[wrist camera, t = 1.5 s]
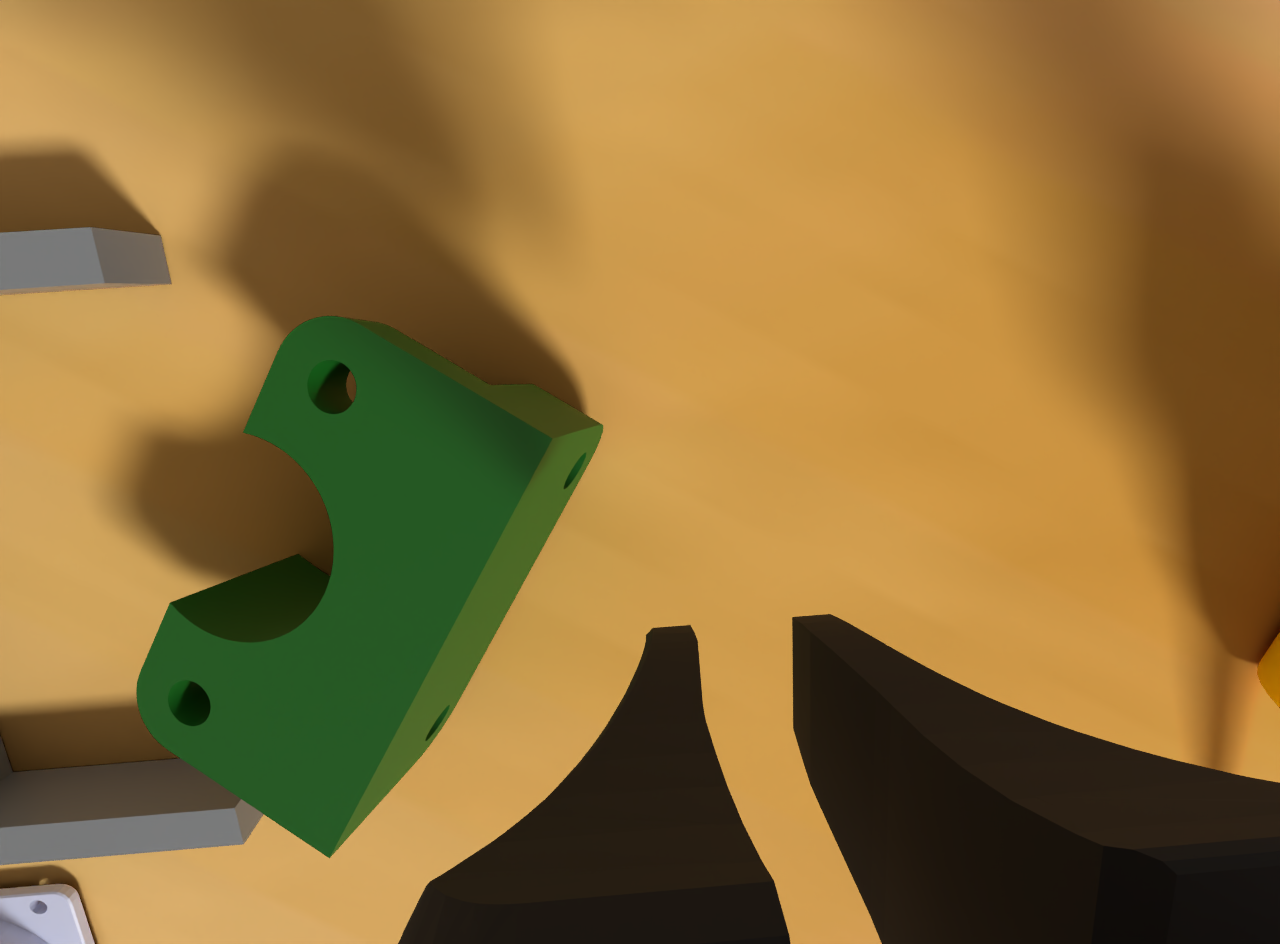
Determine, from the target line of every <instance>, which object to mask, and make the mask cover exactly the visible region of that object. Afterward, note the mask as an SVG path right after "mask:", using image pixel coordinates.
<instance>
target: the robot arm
mask: <svg viewBox="0 0 1280 944" xmlns="http://www.w3.org/2000/svg"><path fill="white" fill-rule="evenodd" d="M792 626H793V729H794V732H795V736H796V739H797V742H798V746H799V749H800V753H801V756H802V759H803V762H804V766H805V769H806V772H807V775H808V778H809V781H810V784H811V787H812V789H813V791H814V793H815V796H816V798H817V800H818V802H819V805H820V807H821V809H822V811H823V813H824V816H825V818H826V820H827V822H828V824H829V827H830V829H831V831H832V833H833V835H834V838H835V840H836V842H837V844H838V846H839V848H840V851H841V853H842V855H843V857H844V859H845V861H846V864H847V866H848V868H849V870H850V872H851V874H852V877H853V879H854V881H855V883H856V885H857V887H858V890H859V892H860V894H861V896H862V898H863V900H864V903H865V905H866V907H867V909H868V911H869V914H870V916H871V918H872V921H873V923H874V925H875V928H876V930H877V933H878V935H879V938H880V940H881V942H882V944H1280V783H1278V782H1272V781H1266V780H1261V779H1255V778H1250V777H1245V776H1240V775H1236V774H1231V773H1227V772H1223V771H1218V770H1214V769H1210V768H1206V767H1201V766H1197V765H1193V764H1189V763H1184V762H1180V761H1176V760H1172V759H1168V758H1164V757H1161V756H1157V755H1153V754H1150V753H1146V752H1142V751H1138V750H1135V749H1131V748H1128V747H1125V746H1121V745H1118V744H1115V743H1112V742H1109V741H1105V740H1102V739H1099V738H1096V737H1093V736H1089V735H1086V734H1083V733H1080V732H1077V731H1074V730H1071V729H1068V728H1065V727H1062V726H1059V725H1056V724H1054V723H1051V722H1048V721H1045V720H1043V719H1040V718H1038V717H1035V716H1033V715H1030V714H1028V713H1025V712H1023V711H1020V710H1018V709H1015V708H1013V707H1010V706H1007V705H1005V704H1002V703H1000V702H998V701H996V700H993V699H991V698H989V697H986V696H984V695H982V694H980V693H978V692H975V691H973V690H971V689H969V688H967V687H965V686H963V685H961V684H959V683H957V682H955V681H953V680H951V679H949V678H947V677H945V676H943V675H941V674H939V673H937V672H935V671H933V670H931V669H929V668H927V667H925V666H923V665H922V664H920V663H918V662H916V661H914V660H912V659H911V658H909V657H907V656H905V655H903V654H902V653H900V652H898V651H896V650H894V649H893V648H891V647H889V646H887V645H886V644H884V643H882V642H881V641H879V640H877V639H875V638H874V637H872V636H870V635H868V634H867V633H865V632H863V631H861V630H860V629H858V628H856V627H854V626H853V625H851V624H849V623H847V622H845V621H843V620H841V619H839V618H837V617H835V616H833V615H831V614H827V615H814V616H801V617H792ZM0 944H95V943H94V940H93V937H92V934H91V931H90V928H89V925H88V922H87V918H86V915H85V912H84V909H83V906H82V903H81V900H80V897H79V894H78V892H77V891H76V889H74V888H73V887H72V886H70V885H67V884H50V885H39V886H27V887H16V888H4V889H0ZM398 944H790V938H789V933H788V930H787V926H786V922H785V919H784V915H783V912H782V908H781V905H780V901H779V898H778V894H777V890H776V887H775V883H774V880H773V879H772V877H771V875H770V874H769V872H768V870H767V869H766V867H765V866H764V864H763V862H762V860H761V859H760V857H759V855H758V853H757V851H756V849H755V847H754V845H753V843H752V841H751V839H750V837H749V835H748V833H747V831H746V829H745V827H744V825H743V823H742V820H741V818H740V816H739V813H738V811H737V808H736V806H735V803H734V801H733V799H732V796H731V794H730V791H729V789H728V787H727V784H726V781H725V778H724V775H723V772H722V770H721V767H720V764H719V761H718V758H717V755H716V752H715V749H714V746H713V743H712V740H711V736H710V733H709V730H708V727H707V723H706V720H705V715H704V709H703V702H702V690H701V677H700V665H699V652H698V640H697V638H696V636H695V633H694V631H693V629H692V627H691V625H686V626H673V627H660V628H652V629H651V631H650V632H649V633H648V634H647V635H646V643H645V648H644V651H643V654H642V657H641V660H640V662H639V665H638V668H637V670H636V672H635V674H634V676H633V679H632V681H631V683H630V685H629V687H628V689H627V691H626V693H625V695H624V697H623V699H622V700H621V702H620V704H619V706H618V707H617V709H616V711H615V712H614V714H613V716H612V717H611V719H610V721H609V722H608V724H607V726H606V727H605V729H604V730H603V732H602V733H601V734H600V736H599V737H598V739H597V740H596V742H595V743H594V744H593V746H592V747H591V748H590V749H589V751H588V752H587V753H586V755H585V756H584V757H583V758H582V760H581V761H580V762H579V763H578V765H577V766H576V767H575V768H574V769H573V770H572V771H571V772H570V773H569V775H568V776H567V777H566V778H565V779H564V780H563V781H562V782H561V783H560V784H559V786H558V787H557V788H556V789H555V790H554V791H553V792H552V793H551V794H550V795H549V796H548V797H547V798H546V799H545V800H544V801H543V802H541V803H540V804H539V805H538V806H537V807H536V808H534V809H533V810H532V811H531V812H530V813H529V814H528V815H526V816H525V817H524V818H523V819H521V820H520V821H519V822H518V823H516V824H515V825H514V826H512V827H511V828H510V829H509V830H507V831H506V832H505V833H504V834H502V835H501V836H499V837H498V838H497V839H495V840H494V841H493V842H491V843H490V844H488V845H487V846H485V847H484V848H482V849H481V850H479V851H478V852H476V853H475V854H473V855H472V856H470V857H468V858H467V859H465V860H464V861H462V862H461V863H459V864H458V865H456V866H455V867H453V868H452V869H450V870H449V871H447V872H445V873H444V874H442V875H441V876H439V877H437V878H435V879H434V880H432V881H430V882H429V883H428V885H427V886H426V888H425V890H424V892H423V893H422V895H421V897H420V899H419V901H418V903H417V905H416V907H415V909H414V911H413V914H412V916H411V918H410V920H409V922H408V924H407V926H406V928H405V930H404V932H403V935H402V937H401V939H400V941H399V943H398Z"/></svg>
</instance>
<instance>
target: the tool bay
mask: <svg viewBox="0 0 1280 944" xmlns="http://www.w3.org/2000/svg"><path fill="white" fill-rule="evenodd" d="M166 284H171V280H170V275H169V271H168V266H167V262H166V257H165V253H164V249H163V244H162V240H161V236H160V235H152V234H144V233H135V232H127V231H119V230H111V229H102V228H94V227H85V228H68V229H52V230H36V231H20V232H4V233H0V295H9V294H25V293H40V292H56V291H72V290H87V289H103V288H119V287H134V286H150V285H166ZM262 816H263V813H261V812H260V811H258V810H257V809H255V808H254V807H252V806H251V805H249V804H248V803H246V802H245V801H243V800H242V799H240V798H239V797H237V796H236V795H234V794H233V793H231V792H230V791H228V790H227V789H225V788H224V787H223V786H221V785H220V784H218V783H217V782H215V781H214V780H212V779H211V778H209V777H208V776H206V775H205V774H203V773H202V772H200V771H199V770H197V769H196V768H194V767H193V766H191V765H190V764H188V763H187V762H185V761H184V760H182V759H181V758H179V759H167V760H155V761H143V762H130V763H118V764H106V765H94V766H82V767H69V768H57V769H45V770H33V771H20V772H13V771H12V768H11V765H10V762H9V760H8V757H7V754H6V751H5V748H4V745H3V742H2V739H1V736H0V865H7V864H18V863H30V862H42V861H54V860H65V859H77V858H89V857H100V856H112V855H124V854H136V853H147V852H159V851H171V850H182V849H194V848H206V847H218V846H229V845H241V844H244V843H245V842H246V840H247V839H248V837H249V836H250V834H251V832H252V831H253V829H254V828H255V826H256V825H257V823H258V822H259V820H260V819H261V817H262Z"/></svg>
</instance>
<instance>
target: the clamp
mask: <svg viewBox="0 0 1280 944" xmlns="http://www.w3.org/2000/svg"><path fill="white" fill-rule="evenodd" d="M350 371H351V372H352V374H353V376H354V378H355V381H356V397H355V399H354V402H352V401H351V400H350V398H349V396H348V393H347V389H346V380H347V376H348V374H349V372H350ZM602 432H603V425H602V424H600V423H599V422H597V421H595V420H594V419H592V418H590V417H588V416H587V415H585V414H583V413H582V412H580V411H578V410H576V409H575V408H573V407H571V406H570V405H568V404H566V403H565V402H563V401H561V400H559V399H558V398H556V397H554V396H553V395H551V394H549V393H547V392H546V391H544V390H542V389H541V388H539V387H537V386H536V385H534V384H511V385H489V384H487V383H486V382H484V381H482V380H481V379H479V378H477V377H476V376H474V375H472V374H471V373H469V372H467V371H465V370H464V369H462V368H460V367H459V366H457V365H455V364H454V363H452V362H450V361H448V360H447V359H445V358H443V357H442V356H440V355H438V354H437V353H435V352H433V351H432V350H430V349H428V348H426V347H425V346H423V345H421V344H420V343H418V342H416V341H415V340H413V339H411V338H409V337H408V336H406V335H404V334H403V333H401V332H399V331H398V330H396V329H394V328H392V327H390V326H388V325H385V324H382V323H378V322H372V321H365V320H358V319H351V318H344V317H337V316H322V317H317V318H314V319H311V320H308V321H306V322H304V323H302V324H301V325H299V326H297V327H296V328H295V329H294V330H293V331H292V332H291V333H290V334H289V335H288V336H287V337H286V338H285V340H284V341H283V343H282V344H281V346H280V348H279V350H278V352H277V354H276V357H275V359H274V361H273V364H272V366H271V368H270V371H269V373H268V375H267V378H266V380H265V382H264V385H263V387H262V389H261V392H260V394H259V396H258V399H257V401H256V403H255V406H254V408H253V410H252V413H251V415H250V417H249V420H248V422H247V424H246V427H245V429H244V431H243V433H246V434H250V435H254V436H256V437H259V438H262V439H264V440H266V441H268V442H270V443H272V444H274V445H275V446H277V447H278V448H280V449H281V450H283V451H284V452H286V453H287V454H288V455H289V456H290V457H292V458H293V459H294V460H295V461H296V462H297V463H298V464H299V465H300V466H301V467H302V468H303V470H304V471H305V472H306V473H307V474H308V476H309V477H310V479H311V480H312V482H313V483H314V484H315V486H316V488H317V490H318V491H319V493H320V495H321V497H322V500H323V502H324V504H325V506H326V509H327V512H328V515H329V519H330V523H331V528H332V534H333V544H334V556H333V566H332V572H331V576H329V575H327V574H325V573H324V572H322V571H320V570H319V569H318V568H316V567H315V566H313V565H312V564H311V563H310V562H308V561H307V560H305V559H304V558H303V557H302V556H300V555H299V554H296V555H294V556H291V557H289V558H286V559H283V560H281V561H278V562H275V563H273V564H270V565H268V566H265V567H262V568H260V569H257V570H255V571H252V572H249V573H247V574H244V575H241V576H239V577H236V578H234V579H231V580H228V581H226V582H223V583H220V584H218V585H215V586H213V587H210V588H207V589H205V590H202V591H199V592H197V593H194V594H192V595H189V596H186V597H184V598H181V599H178V600H176V601H173V602H171V603H170V604H169V606H168V609H167V611H166V613H165V616H164V618H163V620H162V623H161V625H160V627H159V630H158V632H157V634H156V637H155V639H154V641H153V644H152V646H151V648H150V651H149V653H148V655H147V658H146V660H145V662H144V665H143V667H142V669H141V672H140V675H139V678H138V682H137V703H138V708H139V711H140V714H141V717H142V719H143V722H144V724H145V725H146V727H147V729H148V730H149V732H150V733H151V734H152V736H153V737H154V738H155V739H156V740H157V741H158V742H159V743H160V744H161V745H162V746H163V747H165V748H166V749H167V750H169V751H170V752H172V753H173V754H175V755H176V756H178V757H179V758H181V759H182V760H184V761H185V762H187V763H188V764H190V765H191V766H193V767H194V768H196V769H197V770H199V771H200V772H202V773H203V774H205V775H206V776H208V777H209V778H211V779H212V780H214V781H215V782H217V783H218V784H220V785H221V786H223V787H224V788H225V789H227V790H228V791H230V792H231V793H233V794H234V795H236V796H237V797H239V798H240V799H242V800H243V801H245V802H246V803H248V804H249V805H251V806H252V807H254V808H255V809H257V810H258V811H260V812H261V813H263V814H264V815H266V816H267V817H269V818H270V819H272V820H273V821H275V822H276V823H278V824H279V825H281V826H282V827H284V828H285V829H287V830H288V831H290V832H291V833H293V834H294V835H296V836H297V837H299V838H300V839H302V840H303V841H305V842H306V843H308V844H309V845H311V846H312V847H314V848H315V849H317V850H318V851H320V852H321V853H323V854H324V855H326V856H327V857H329V858H330V857H331V856H332V855H333V854H334V853H335V851H336V850H337V849H338V848H339V847H340V846H341V845H342V844H343V843H344V841H345V840H346V839H347V838H348V837H349V836H350V835H351V834H352V833H353V831H354V830H355V829H356V828H357V827H358V826H359V825H360V824H361V823H362V821H363V820H364V819H365V818H366V817H367V816H368V815H369V814H370V813H371V811H372V810H373V809H374V808H375V807H376V806H377V805H378V804H379V803H380V801H381V800H382V799H383V798H384V797H385V796H386V795H387V794H388V793H389V791H390V790H391V789H392V788H393V787H394V786H395V785H396V784H397V783H398V781H399V780H400V779H401V778H402V777H403V776H404V775H405V774H406V773H407V771H408V770H409V769H410V768H411V767H412V766H413V765H414V764H415V763H416V761H417V760H418V759H419V758H420V757H421V756H422V754H423V753H424V752H425V751H426V749H427V748H428V747H429V745H430V744H431V743H432V741H433V740H434V739H435V737H436V736H437V734H438V733H439V731H440V730H441V729H442V727H443V726H444V724H445V722H446V721H447V719H448V718H449V716H450V715H451V713H452V711H453V710H454V708H455V706H456V704H457V703H458V701H459V699H460V697H461V695H462V694H463V692H464V690H465V688H466V686H467V685H468V683H469V681H470V679H471V677H472V675H473V674H474V672H475V670H476V668H477V666H478V664H479V663H480V661H481V659H482V657H483V655H484V654H485V652H486V650H487V648H488V646H489V644H490V643H491V641H492V639H493V637H494V635H495V633H496V632H497V630H498V628H499V626H500V624H501V622H502V621H503V619H504V617H505V615H506V613H507V612H508V610H509V608H510V606H511V604H512V602H513V601H514V599H515V597H516V595H517V593H518V591H519V590H520V588H521V586H522V584H523V582H524V581H525V579H526V577H527V575H528V573H529V571H530V570H531V568H532V566H533V564H534V562H535V560H536V559H537V557H538V555H539V553H540V551H541V550H542V548H543V546H544V544H545V542H546V540H547V539H548V537H549V535H550V533H551V531H552V529H553V528H554V526H555V524H556V522H557V520H558V519H559V517H560V515H561V513H562V511H563V509H564V508H565V506H566V504H567V502H568V500H569V498H570V497H571V495H572V493H573V491H574V489H575V488H576V486H577V484H578V482H579V480H580V478H581V477H582V475H583V473H584V471H585V469H586V467H587V466H588V464H589V462H590V460H591V458H592V456H593V454H594V452H595V450H596V448H597V446H598V443H599V441H600V438H601V435H602Z"/></svg>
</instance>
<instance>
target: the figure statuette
mask: <svg viewBox="0 0 1280 944" xmlns="http://www.w3.org/2000/svg"><path fill="white" fill-rule="evenodd" d="M1257 675H1258V677H1259V680H1260V683H1261V685H1262V686H1263V688H1264V689H1265V691H1266V692H1267V694H1268V695H1269V696H1270V697H1271V699H1272V700H1273V701H1274V702H1275V703H1276V704H1277V705H1278V707H1279V708H1280V632H1279V634H1278V635H1277V637H1276V638H1275V640H1274V641H1273V643H1272V644H1271V646H1270V647H1269V648H1268V650H1267V651H1266V653H1265V654H1264V656H1263V657H1262V659H1261V660H1260V662H1259V665H1258V668H1257Z"/></svg>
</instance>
